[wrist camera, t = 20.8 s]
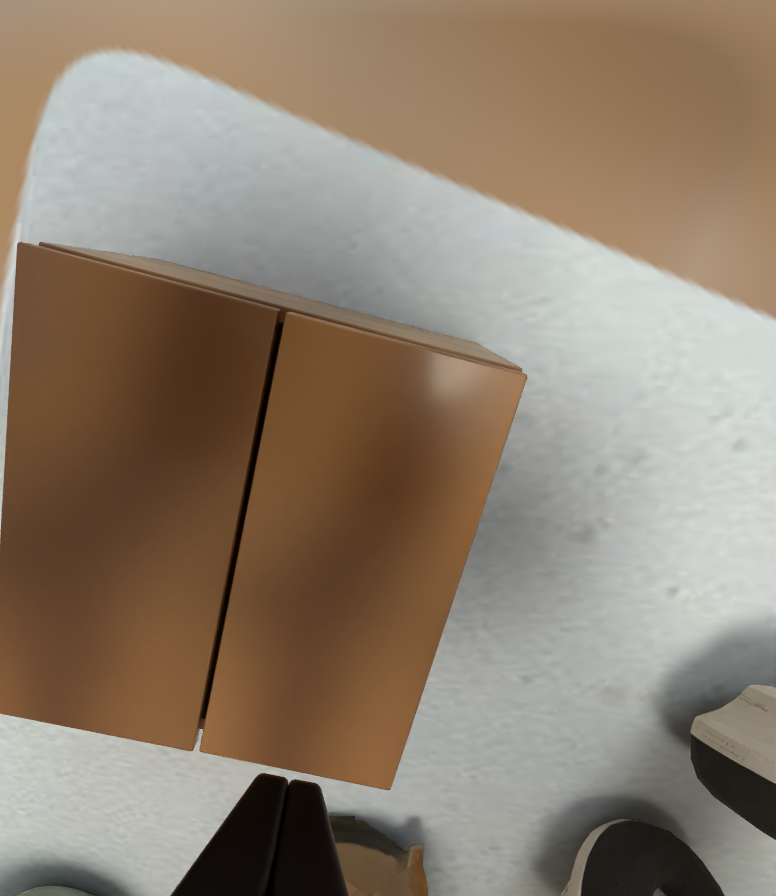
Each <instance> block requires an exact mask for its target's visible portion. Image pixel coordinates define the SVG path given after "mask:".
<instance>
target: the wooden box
mask: <svg viewBox="0 0 776 896" xmlns="http://www.w3.org/2000/svg"><path fill="white" fill-rule="evenodd" d="M286 312H294V313H298V314H302V315H306V316H309V317H313V318H317V319H321V320H325V321H329V322H332V323H336V324H340V325H344V326H348V327H351V328H355V329H359V330H363V331H367V332H370V333H374V334H378V335H382V336H386V337H389V338H393V339H397V340H401V341H405V342H409V343H412V344H416V345H420V346H424V347H428V348H431V349H435V350H439V351H443V352H447V353H450V354H454V355H458V356H462V357H466V358H469V359H473V360H477V361H481V362H485V363H489V364H492V365H496V366H500V367H504V368H508V369H511V370H515V371H519V372H522V368H520V367H518V366H517V365H515V364H513V363H511V362H510V361H508V360H506V359H504V358H502V357H501V356H499V355H497V354H495V353H494V352H492V351H490V350H488V349H486V348H485V347H483V346H481V345H479V344H477V343H473V342H469V341H466V340H462V339H458V338H454V337H450V336H447V335H443V334H439V333H435V332H431V331H428V330H424V329H420V328H416V327H413V326H409V325H405V324H401V323H397V322H394V321H390V320H386V319H382V318H378V317H375V316H371V315H367V314H363V313H360V312H356V311H352V310H348V309H344V308H341V307H337V306H333V305H329V304H326V303H322V302H318V301H314V300H310V299H307V298H303V297H299V296H295V295H291V294H288V293H284V292H280V291H276V290H273V289H269V288H265V287H261V286H257V285H254V284H250V283H246V282H242V281H238V280H235V279H231V278H227V277H223V276H220V275H216V274H212V273H208V272H204V271H201V270H197V269H193V268H189V267H186V266H182V265H178V264H174V263H170V262H167V261H163V260H159V259H155V258H148V257H141V256H134V255H127V254H120V253H113V252H106V251H99V250H93V249H86V248H79V247H72V246H65V245H58V244H51V243H44V242H40V243H39V246H38V245H34V244H30V243H23V242H19V243H18V244H17V260H16V277H15V295H14V312H13V329H12V346H11V364H10V381H9V398H8V416H7V433H6V450H5V467H4V485H3V502H2V519H1V537H0V714H5V715H10V716H15V717H20V718H25V719H30V720H36V721H41V722H46V723H51V724H56V725H61V726H66V727H71V728H76V729H81V730H86V731H91V732H96V733H101V734H106V735H111V736H117V737H122V738H127V739H132V740H137V741H142V742H147V743H152V744H157V745H162V746H167V747H172V748H177V749H182V750H187V751H193V749H194V747H195V745H196V742H197V740H198V735H199V729H204V725H205V719H206V714H207V709H208V704H209V699H210V694H211V689H212V684H213V679H214V674H215V669H216V664H217V659H218V654H219V648H220V643H221V638H222V633H223V628H224V623H225V618H226V613H227V608H228V603H229V598H230V593H231V588H232V583H233V578H234V572H235V567H236V562H237V557H238V552H239V547H240V542H241V537H242V532H243V527H244V522H245V517H246V512H247V507H248V501H249V496H250V491H251V486H252V481H253V476H254V471H255V466H256V461H257V456H258V451H259V446H260V441H261V436H262V431H263V425H264V420H265V415H266V410H267V405H268V400H269V395H270V390H271V385H272V380H273V375H274V370H275V365H276V360H277V354H278V349H279V344H280V339H281V334H282V329H283V324H284V319H285V314H286Z"/></svg>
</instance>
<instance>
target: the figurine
mask: <svg viewBox="0 0 776 896" xmlns="http://www.w3.org/2000/svg"><path fill="white" fill-rule="evenodd" d="M329 821H330V824H331V828H332V832H333V836H334V840H335V844H336V847H337V851H338V855H339V859H340V863H341V867H342V870H343V874H344V878H345V882H346V886H347V889H348V893H349V896H428V887H427V882H426V877H425V873H424V869H423V844H420V845H413V846H411V847H410V849H409V850H408V852H407V853H405V852H404V851H403V850H402V849H401V848H400V847H399V846H398V845H397V844H396V843H395V842H394V841H392V840H391V839H389V838H388V837H386V836H385V835H383V834H381V833H380V832H378V831H377V830H375V829H374V828H372V827H371V826H369V825H368V824H367V823H365V822H364V821H362V820H356V819H355V816H350V817H329Z"/></svg>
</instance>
